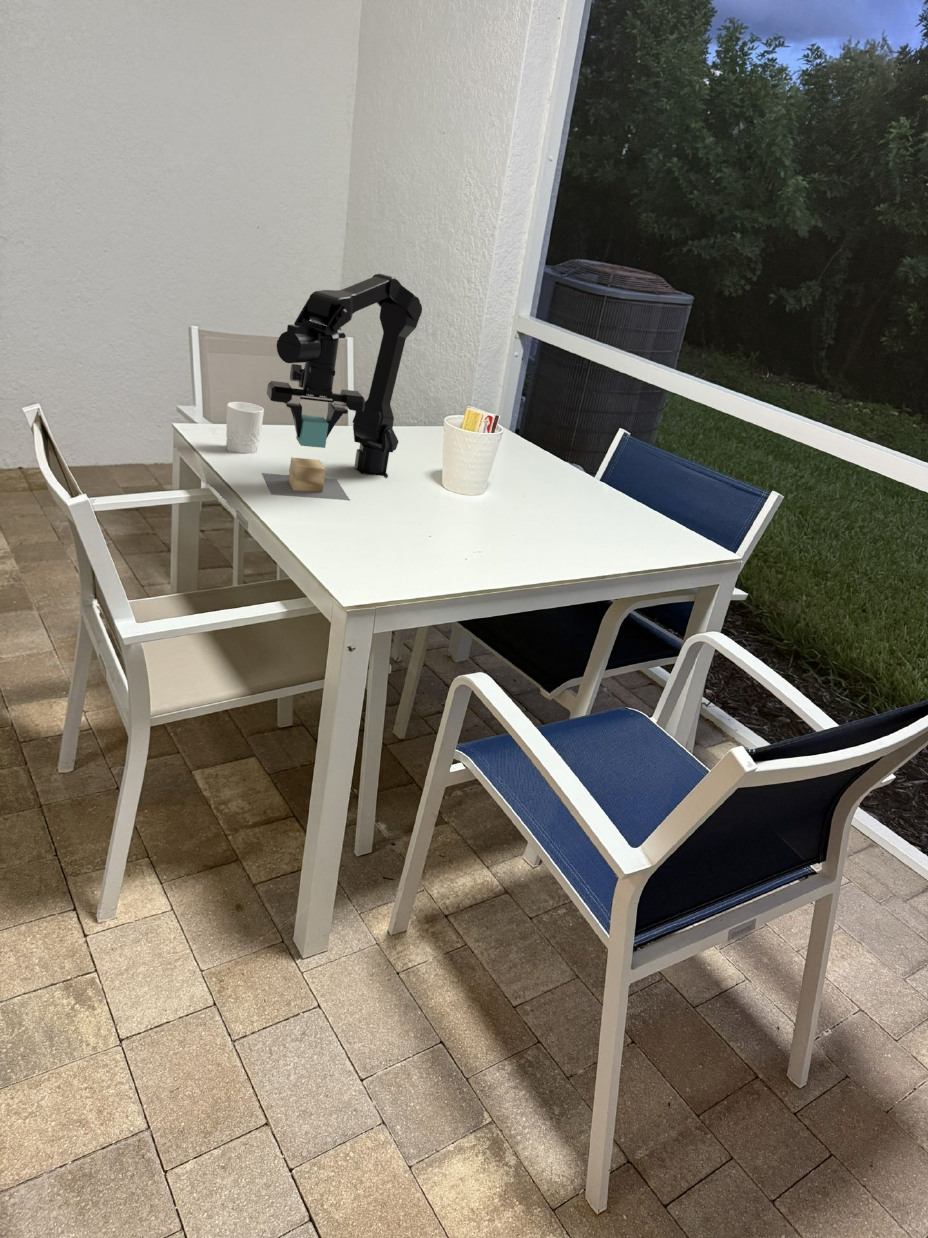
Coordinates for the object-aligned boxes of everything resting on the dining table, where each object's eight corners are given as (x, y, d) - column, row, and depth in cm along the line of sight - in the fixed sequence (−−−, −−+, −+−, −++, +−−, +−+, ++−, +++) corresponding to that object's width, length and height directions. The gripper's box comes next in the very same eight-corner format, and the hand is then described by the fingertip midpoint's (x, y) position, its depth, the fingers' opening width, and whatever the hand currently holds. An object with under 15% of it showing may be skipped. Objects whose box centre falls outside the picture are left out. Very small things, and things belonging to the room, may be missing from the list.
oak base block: (316, 482, 192) (319, 459, 190) (322, 492, 187) (325, 469, 185) (288, 480, 190) (291, 457, 188) (293, 490, 185) (296, 466, 183)
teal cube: (320, 440, 188) (323, 416, 186) (325, 447, 184) (328, 423, 182) (296, 438, 186) (299, 414, 184) (300, 445, 182) (303, 421, 180)
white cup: (220, 444, 205) (223, 400, 201) (255, 446, 209) (259, 403, 205) (227, 455, 199) (231, 410, 195) (263, 457, 203) (268, 413, 199)
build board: (336, 481, 197) (336, 478, 197) (349, 502, 187) (350, 499, 186) (261, 475, 191) (261, 472, 191) (271, 496, 181) (271, 494, 180)
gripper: (357, 357, 188) (347, 431, 195) (266, 345, 181) (259, 422, 188) (370, 370, 179) (359, 447, 186) (275, 357, 172) (267, 438, 179)
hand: (311, 438), depth 185 cm, fingers closed on teal cube, 5 cm apart
